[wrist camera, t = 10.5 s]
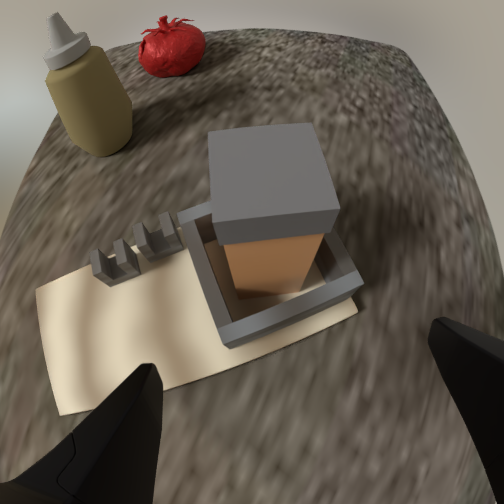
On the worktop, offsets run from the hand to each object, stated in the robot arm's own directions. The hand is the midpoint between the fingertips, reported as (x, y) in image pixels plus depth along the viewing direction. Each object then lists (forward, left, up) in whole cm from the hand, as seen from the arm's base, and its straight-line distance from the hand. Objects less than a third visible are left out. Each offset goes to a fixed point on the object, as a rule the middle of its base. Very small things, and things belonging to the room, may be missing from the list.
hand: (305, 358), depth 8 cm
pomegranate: (+33, -26, -14) cm, 44 cm away
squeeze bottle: (+29, -10, -14) cm, 33 cm away
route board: (+9, +1, -13) cm, 16 cm away
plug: (+5, -6, -12) cm, 15 cm away
